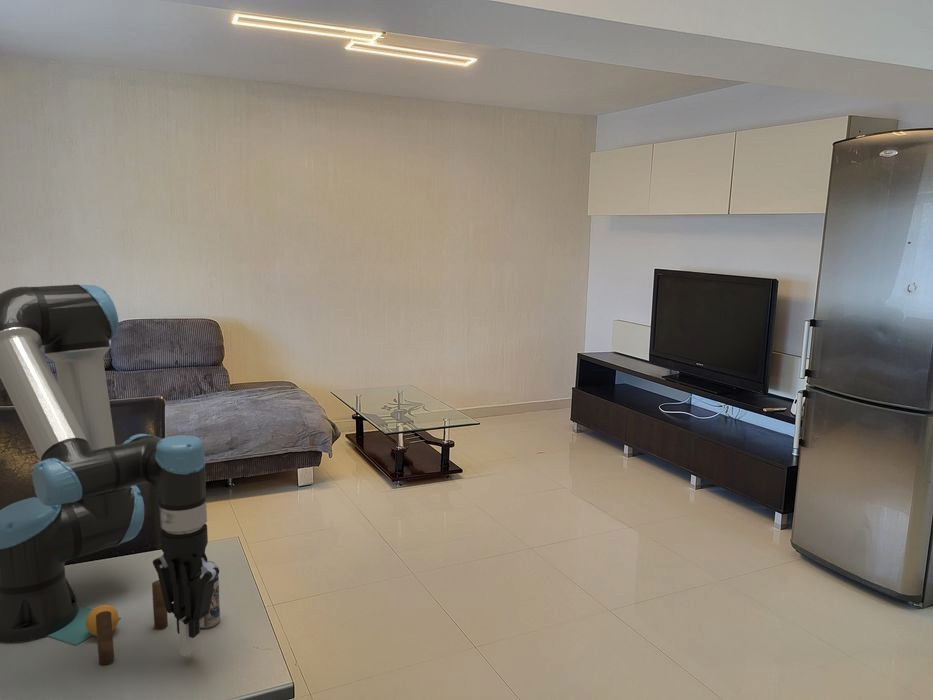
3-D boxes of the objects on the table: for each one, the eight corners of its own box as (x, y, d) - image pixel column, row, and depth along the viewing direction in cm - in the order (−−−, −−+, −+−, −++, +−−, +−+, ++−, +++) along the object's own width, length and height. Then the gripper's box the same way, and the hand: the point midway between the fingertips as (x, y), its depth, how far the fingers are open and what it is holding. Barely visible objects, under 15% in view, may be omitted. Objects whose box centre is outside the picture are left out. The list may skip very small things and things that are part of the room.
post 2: (151, 627, 134) (149, 584, 132) (161, 621, 136) (158, 578, 134) (161, 630, 133) (158, 587, 131) (170, 624, 135) (168, 581, 133)
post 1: (95, 663, 122) (92, 616, 121) (107, 656, 125) (104, 610, 123) (105, 667, 121) (102, 619, 120) (117, 659, 124) (114, 613, 122)
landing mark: (37, 632, 131) (37, 631, 131) (84, 607, 140) (84, 606, 140) (75, 645, 127) (75, 644, 127) (121, 618, 137) (121, 617, 136)
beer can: (211, 631, 133) (209, 573, 131) (189, 628, 134) (186, 570, 132) (225, 618, 138) (223, 561, 136) (203, 614, 139) (201, 558, 137)
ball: (102, 644, 128) (80, 639, 130) (126, 628, 133) (105, 624, 135) (98, 616, 127) (77, 611, 129) (123, 601, 132) (102, 597, 134)
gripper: (137, 527, 119) (144, 653, 123) (197, 541, 114) (202, 672, 118) (171, 511, 125) (177, 631, 129) (229, 524, 121) (233, 648, 125)
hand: (189, 651), depth 124 cm, fingers closed
